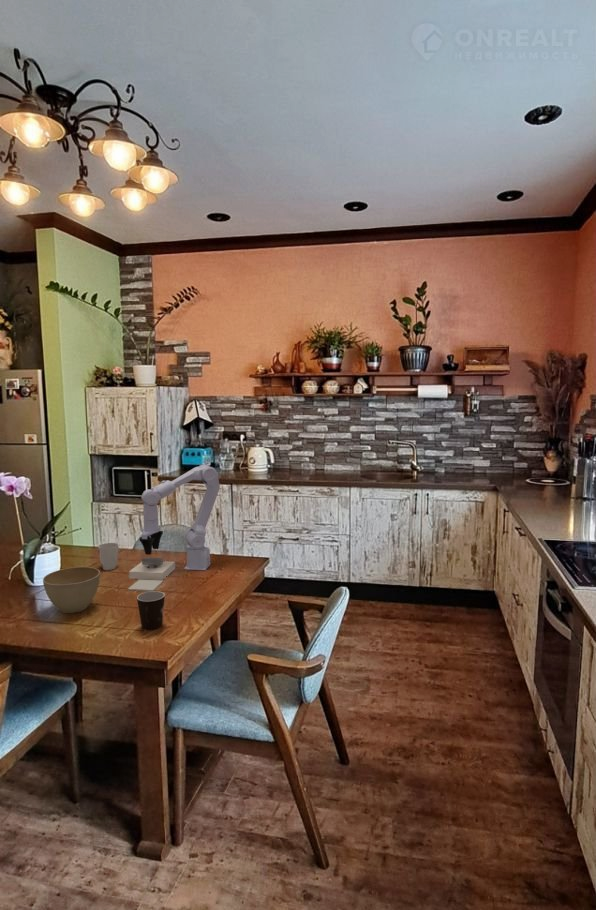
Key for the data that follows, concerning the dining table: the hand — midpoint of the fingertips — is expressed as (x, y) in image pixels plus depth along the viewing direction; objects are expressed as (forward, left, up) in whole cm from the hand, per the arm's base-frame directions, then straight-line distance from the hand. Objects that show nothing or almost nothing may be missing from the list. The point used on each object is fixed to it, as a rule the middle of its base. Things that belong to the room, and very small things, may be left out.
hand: (152, 551), depth 221 cm
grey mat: (-3, +14, -9) cm, 17 cm away
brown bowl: (+13, +38, -10) cm, 41 cm away
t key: (0, 0, -9) cm, 9 cm away
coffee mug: (-19, +49, -10) cm, 53 cm away
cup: (+21, -4, -10) cm, 23 cm away
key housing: (0, 0, -9) cm, 9 cm away
